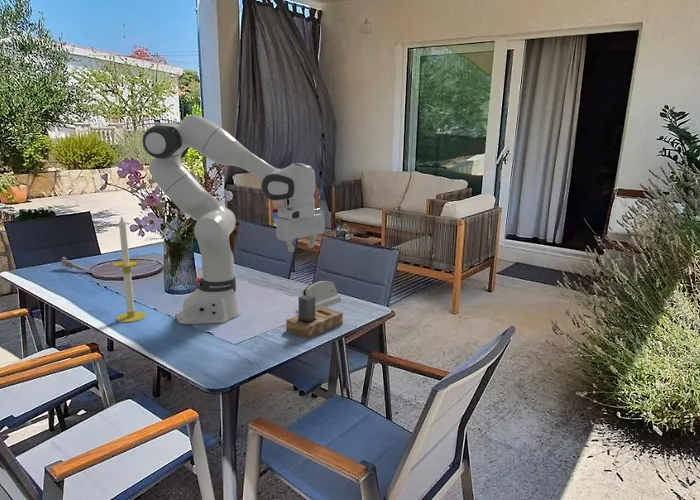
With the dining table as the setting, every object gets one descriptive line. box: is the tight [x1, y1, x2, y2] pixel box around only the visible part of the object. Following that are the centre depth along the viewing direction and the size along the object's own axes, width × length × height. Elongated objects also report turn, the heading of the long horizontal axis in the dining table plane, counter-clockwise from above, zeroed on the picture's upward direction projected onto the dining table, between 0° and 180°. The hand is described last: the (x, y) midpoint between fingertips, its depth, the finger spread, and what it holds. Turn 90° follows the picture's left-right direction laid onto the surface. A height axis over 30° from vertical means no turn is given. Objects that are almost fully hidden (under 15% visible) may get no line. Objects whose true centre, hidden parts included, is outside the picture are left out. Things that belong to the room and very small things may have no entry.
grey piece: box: [301, 280, 342, 309], centre depth 192 cm, size 17×5×10 cm, turn 139°
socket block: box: [285, 306, 344, 340], centre depth 170 cm, size 18×10×4 cm, turn 140°
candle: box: [112, 215, 147, 324], centre depth 171 cm, size 10×10×38 cm
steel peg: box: [298, 295, 315, 324], centre depth 166 cm, size 4×4×12 cm
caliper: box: [60, 256, 90, 271], centre depth 228 cm, size 20×1×6 cm, turn 68°
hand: (301, 249), depth 171 cm, fingers open, 8 cm apart
